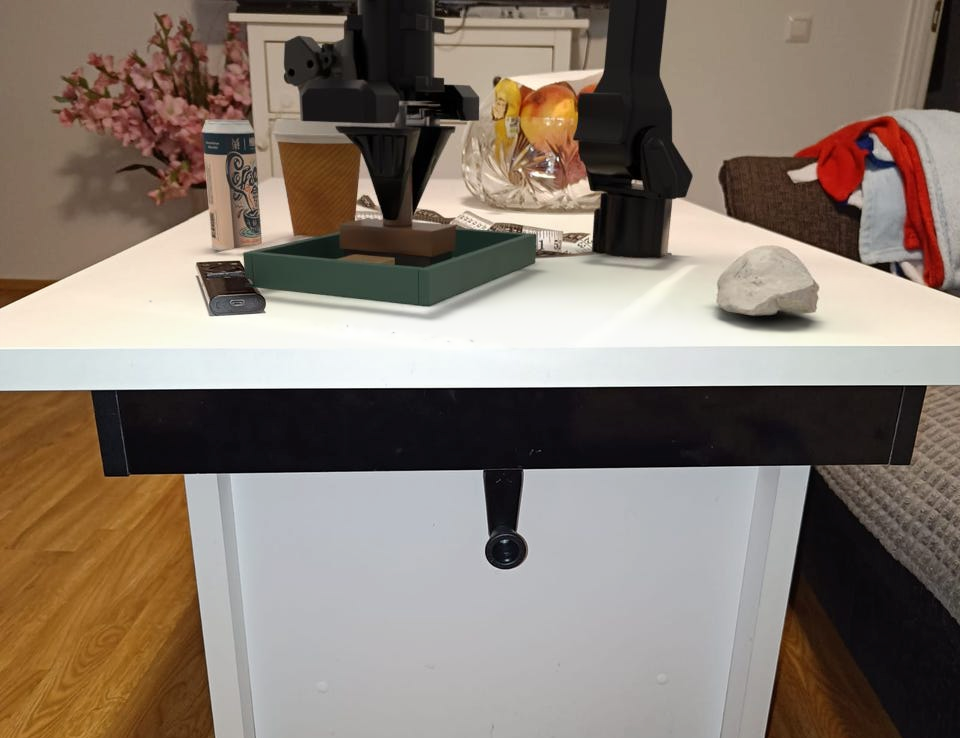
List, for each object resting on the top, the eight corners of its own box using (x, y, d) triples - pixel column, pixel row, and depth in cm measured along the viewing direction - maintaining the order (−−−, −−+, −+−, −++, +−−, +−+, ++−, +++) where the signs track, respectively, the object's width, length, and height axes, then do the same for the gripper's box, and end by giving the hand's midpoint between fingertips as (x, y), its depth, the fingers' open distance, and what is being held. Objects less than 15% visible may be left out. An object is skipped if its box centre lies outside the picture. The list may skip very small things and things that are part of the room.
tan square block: (395, 283, 73) (394, 257, 72) (372, 291, 70) (371, 264, 69) (355, 279, 74) (354, 254, 73) (331, 287, 71) (330, 260, 70)
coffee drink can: (249, 255, 89) (239, 121, 84) (203, 253, 90) (191, 120, 85) (270, 248, 93) (261, 120, 89) (225, 246, 94) (215, 119, 89)
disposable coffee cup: (386, 238, 101) (384, 120, 96) (328, 249, 94) (323, 121, 89) (320, 231, 106) (315, 118, 101) (259, 240, 98) (251, 118, 94)
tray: (535, 271, 84) (536, 233, 83) (428, 317, 65) (428, 270, 64) (383, 257, 89) (382, 222, 88) (245, 296, 71) (242, 252, 70)
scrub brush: (455, 268, 77) (456, 160, 74) (432, 276, 73) (432, 163, 70) (367, 260, 80) (364, 155, 77) (340, 267, 76) (336, 158, 73)
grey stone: (846, 322, 66) (858, 251, 65) (768, 334, 62) (779, 259, 61) (755, 300, 73) (763, 235, 71) (679, 310, 69) (686, 242, 67)
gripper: (365, 14, 80) (369, 202, 86) (228, -10, 64) (245, 223, 70) (483, 12, 76) (479, 209, 82) (369, -13, 60) (374, 234, 66)
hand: (398, 218), depth 75 cm, fingers closed on scrub brush, 2 cm apart
